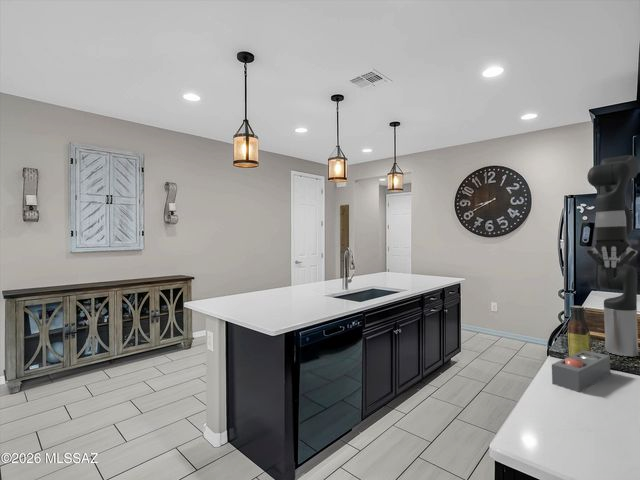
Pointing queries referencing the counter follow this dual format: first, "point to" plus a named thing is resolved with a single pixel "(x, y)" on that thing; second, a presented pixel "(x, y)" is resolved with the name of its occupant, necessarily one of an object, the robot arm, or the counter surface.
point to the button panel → (581, 371)
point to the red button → (574, 362)
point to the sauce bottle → (578, 331)
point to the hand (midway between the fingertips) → (612, 278)
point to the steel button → (589, 357)
